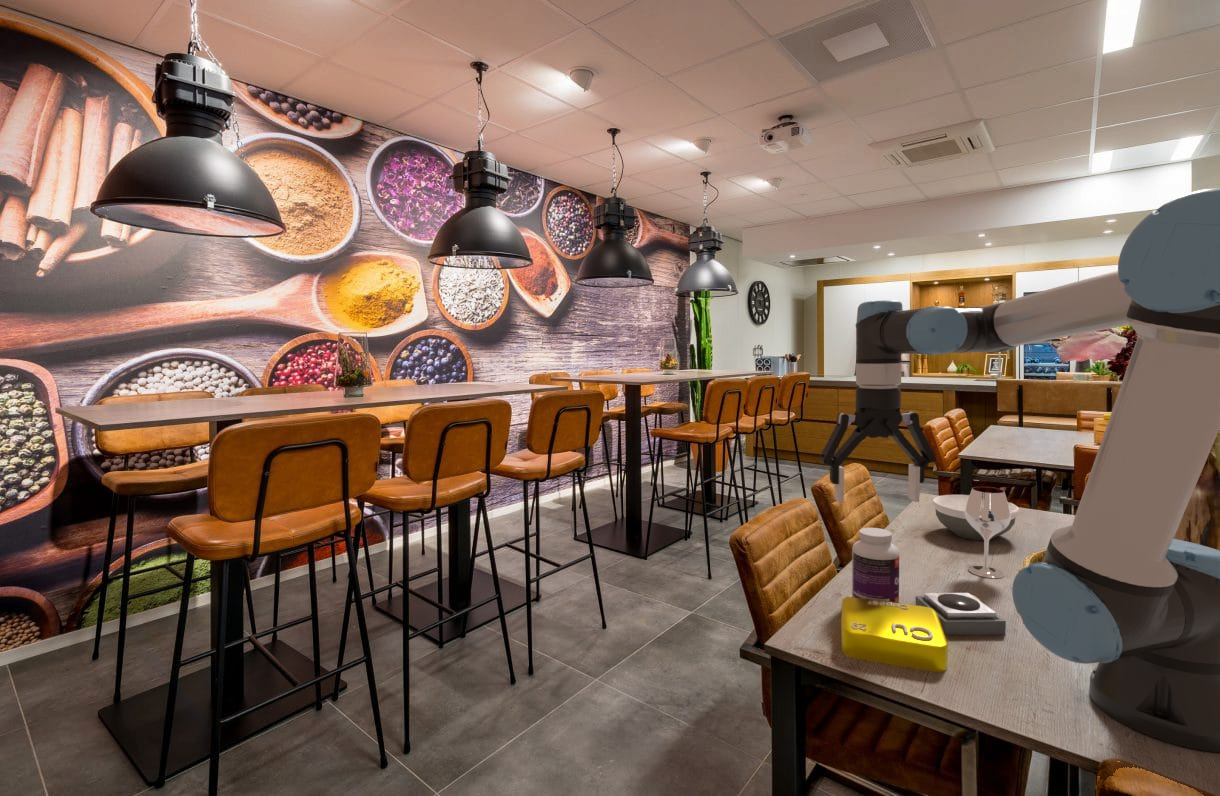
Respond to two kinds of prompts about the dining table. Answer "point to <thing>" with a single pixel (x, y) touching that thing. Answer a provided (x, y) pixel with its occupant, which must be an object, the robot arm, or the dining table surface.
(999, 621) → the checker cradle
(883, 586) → the pill bottle
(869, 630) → the element tile
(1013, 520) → the bowl
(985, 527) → the wineglass
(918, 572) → the dining table surface
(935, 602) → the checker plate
